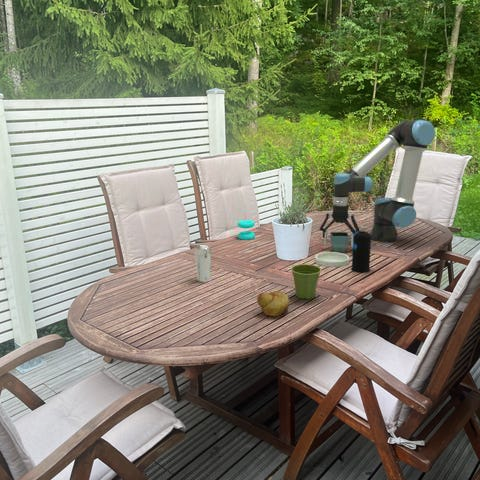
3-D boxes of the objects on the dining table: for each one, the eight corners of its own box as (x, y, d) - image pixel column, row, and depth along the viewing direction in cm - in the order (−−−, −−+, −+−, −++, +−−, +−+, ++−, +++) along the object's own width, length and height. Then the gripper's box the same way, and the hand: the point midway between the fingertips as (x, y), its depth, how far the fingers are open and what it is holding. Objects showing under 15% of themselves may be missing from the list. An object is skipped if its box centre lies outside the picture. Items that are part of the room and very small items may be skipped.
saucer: (340, 255, 221) (341, 250, 220) (354, 265, 206) (354, 260, 205) (310, 257, 218) (310, 253, 218) (322, 268, 203) (322, 263, 203)
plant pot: (313, 304, 165) (314, 276, 162) (285, 298, 171) (285, 271, 168) (325, 293, 174) (326, 266, 171) (298, 288, 180) (298, 262, 177)
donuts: (258, 221, 254) (245, 224, 247) (258, 237, 256) (246, 241, 250) (246, 218, 261) (233, 221, 254) (246, 234, 263) (234, 238, 257)
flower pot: (346, 248, 232) (347, 231, 229) (348, 253, 223) (349, 236, 221) (329, 248, 233) (330, 231, 230) (331, 253, 224) (331, 236, 222)
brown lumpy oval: (275, 302, 168) (275, 282, 166) (297, 308, 162) (297, 288, 160) (254, 313, 158) (254, 293, 156) (276, 321, 152) (276, 299, 150)
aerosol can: (371, 267, 202) (373, 225, 196) (368, 273, 195) (370, 229, 189) (353, 265, 205) (355, 224, 200) (349, 271, 198) (351, 228, 193)
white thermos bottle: (214, 277, 195) (212, 245, 191) (208, 283, 188) (206, 249, 184) (200, 276, 197) (198, 244, 193) (193, 281, 191) (191, 248, 187)
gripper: (314, 204, 223) (313, 244, 229) (365, 207, 213) (362, 249, 219) (318, 201, 230) (316, 241, 235) (367, 204, 220) (364, 245, 226)
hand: (338, 245), depth 227 cm, fingers open, 13 cm apart
